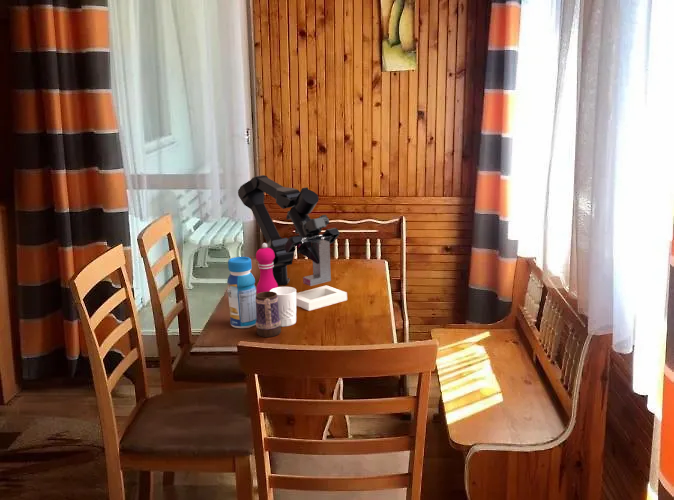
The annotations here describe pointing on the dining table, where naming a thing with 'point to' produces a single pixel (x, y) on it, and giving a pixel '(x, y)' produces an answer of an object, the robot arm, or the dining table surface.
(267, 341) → the dining table surface
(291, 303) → the white cup
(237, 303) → the beverage bottle
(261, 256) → the pepper mill
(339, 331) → the dining table surface
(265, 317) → the mug
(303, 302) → the block
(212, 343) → the dining table surface
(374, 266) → the dining table surface
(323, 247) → the grey block
